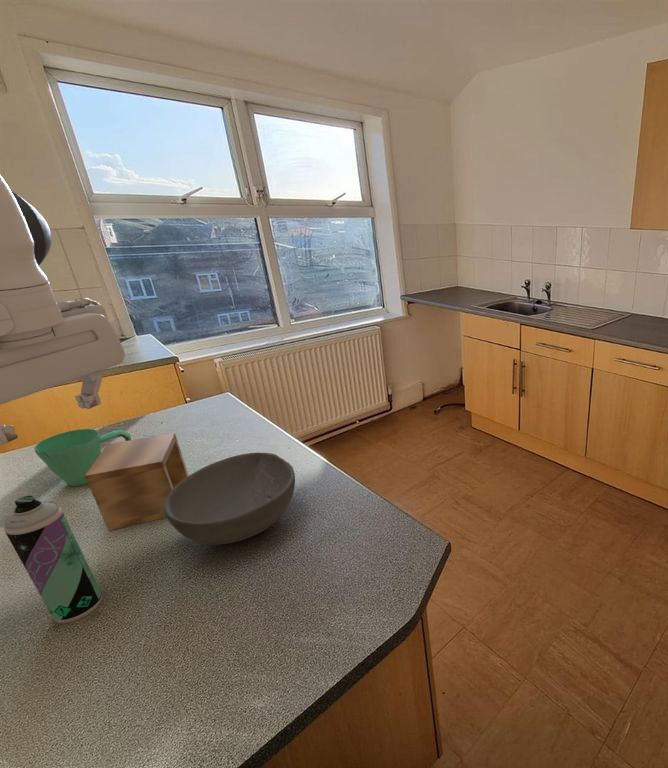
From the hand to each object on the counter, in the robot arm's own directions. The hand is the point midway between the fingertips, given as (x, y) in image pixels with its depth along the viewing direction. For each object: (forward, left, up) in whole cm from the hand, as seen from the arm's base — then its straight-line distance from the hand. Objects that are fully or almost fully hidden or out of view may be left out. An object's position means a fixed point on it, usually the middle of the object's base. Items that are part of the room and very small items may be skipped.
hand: (51, 422), depth 53 cm
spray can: (-7, +3, -32) cm, 33 cm away
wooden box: (-3, +28, -32) cm, 42 cm away
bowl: (+14, +13, -32) cm, 37 cm away
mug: (-16, +45, -32) cm, 58 cm away
